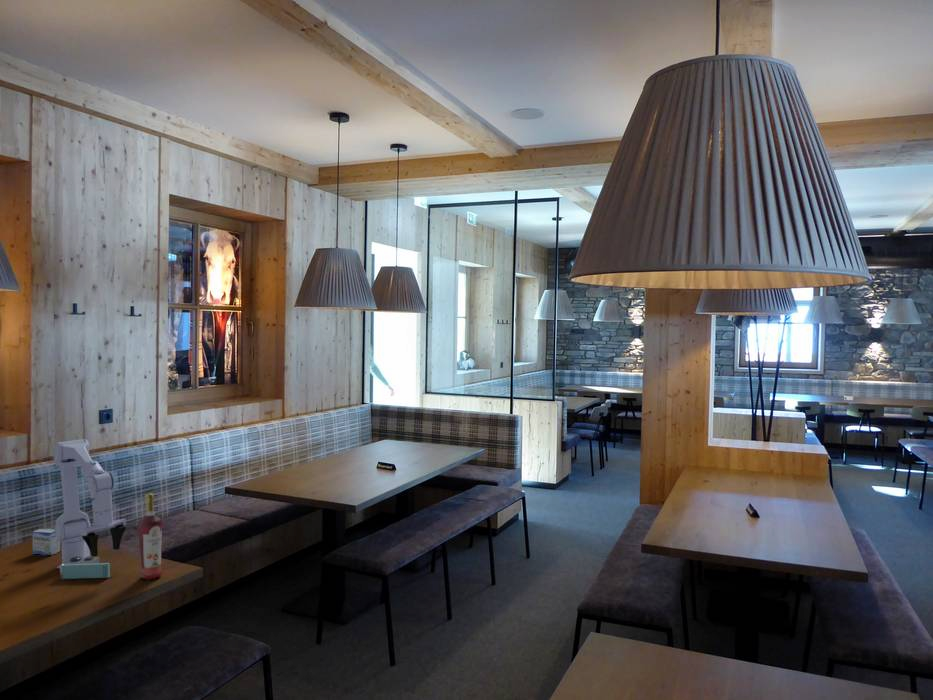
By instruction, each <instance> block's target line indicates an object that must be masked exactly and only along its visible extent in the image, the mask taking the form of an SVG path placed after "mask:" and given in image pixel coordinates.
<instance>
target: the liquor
mask: <svg viewBox="0 0 933 700" xmlns="http://www.w3.org/2000/svg"><path fill="white" fill-rule="evenodd" d="M154 500H155V494H154V493H146V494H144V501H145V511H144V513H145V515H144V517H143V518H141V519H140V520H139V521H138V522H137V528H138V530H137V531H138V542H139V551H140V553H139V555H140V571H141V573H140V574H139V577H140V578H142V579H143V580H145V579H153V580H156V579H158V578H159V577H160V576H161V575H162V574H163V570H162V541H163V540H162V537H163V536H162V535H163V532H162V531H163V520H162V518H160V517H158V516H156V515H155V507H154ZM157 577H158V578H157ZM155 578H156V579H155Z"/></svg>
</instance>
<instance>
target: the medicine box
mask: <svg viewBox="0 0 933 700" xmlns="http://www.w3.org/2000/svg"><path fill="white" fill-rule="evenodd" d="M59 551H60V552H61V542H60V541H59V540H57V538H56V535H55V528H54V529H53V528H51V529H50V528H39V529H37V530H34V531H32V555H33V554H41V555H40V556H46V555H52V554H55V553H57V552H59ZM60 552H59V553H60ZM57 554H58V553H57ZM55 555H56V554H55ZM52 556H53V555H52Z"/></svg>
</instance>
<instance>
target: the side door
mask: <svg viewBox="0 0 933 700" xmlns="http://www.w3.org/2000/svg"><path fill="white" fill-rule="evenodd" d="M59 565H60V568H59V574H60V575H59V576H60V577H59V578H60V579H59V580H60V581H61V580H62V581H63V580H66V579H67V580H72V579H98V578H99V579H100V578H101V579H102V578H103V579H104V578H105V579H106V578H110V577H111V572H110V571H111V570H110V567H111V565H110V562H100V563H94V564H62V563H61V564H59Z"/></svg>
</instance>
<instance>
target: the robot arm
mask: <svg viewBox="0 0 933 700" xmlns="http://www.w3.org/2000/svg"><path fill="white" fill-rule="evenodd" d="M52 452H53V462H54V465H55V466H58V467H59V469H60V479H61V480H60V481H61V490H62V493H61V494H62V502H63V504H62V505H63V513H62V514H61V515H60V516H59V517H58V518H56V519H55V528H54V530H55V535H56V538H57V540H59V541H60V543H61V564H64V563H66V562H67V561H68V560H70V559H71V558H73V557H81V558H83V557H91V556H94V557H98V554H99V553H98V542H99V534H96V533H98V532H103V531H107V530H109V531H110V533H111V534H110V535H111V539H112V548H113V550H120V546H121V542H122V540H123V539H122V538H123V536H124V534H125V531H126V530H127V529H126V525H127V519H125V518H120V519H115V520H114V512H113V497H112V490H113V489H114V488H115V487H114V486H115V478H114V475H113V474H112V472H111V471H105V470H104V469H103V467H102V466H101V465H100V463H99V462H98V461H97V460H93V459H92V457H91V456H90V443H89V441H88V440H87V439H86V438H82V439H73V440H68V441H57V442H55V444H54V446H53V449H52ZM78 465H79V466H80V473H81V474H82V476H83V477H84V478H85V480H86V481H87V489H88V491H89V497H90V499H91V506H92V520H93V525H91V521H90V519H89V518H90V517H89V515H88V514H87V513H86V512H84V511H81V507H80V505H81V504H80V496H79V495H80V494H79V486H78V484H79V483H78V475H77V474H78V472H77V466H78ZM56 568H57V569H60V564H58V566H56Z"/></svg>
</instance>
